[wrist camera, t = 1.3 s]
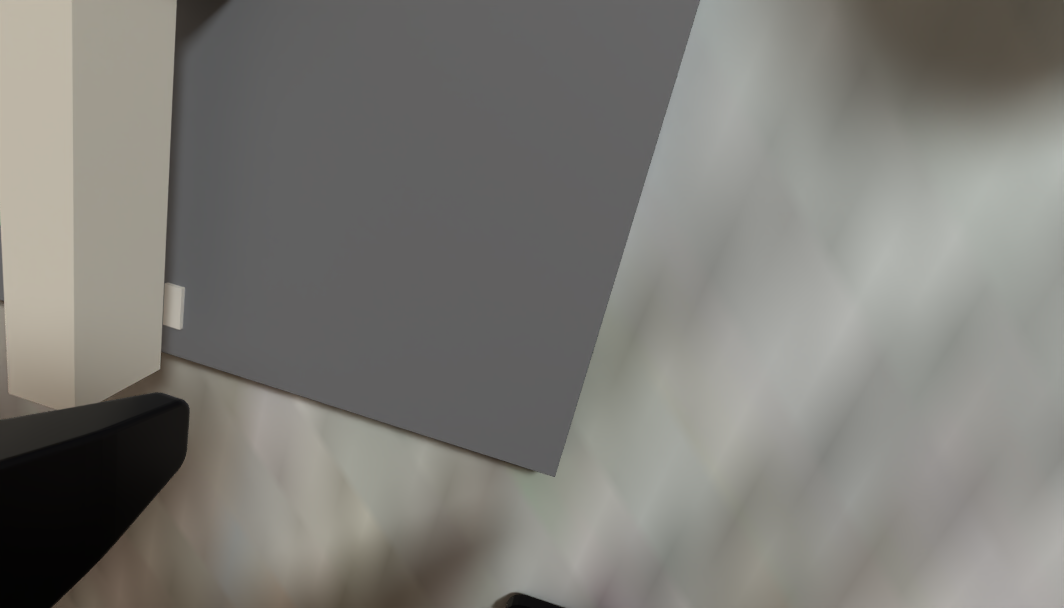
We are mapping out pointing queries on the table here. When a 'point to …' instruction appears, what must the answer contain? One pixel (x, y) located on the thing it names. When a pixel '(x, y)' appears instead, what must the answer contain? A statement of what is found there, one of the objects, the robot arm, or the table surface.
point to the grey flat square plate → (412, 201)
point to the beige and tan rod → (84, 193)
